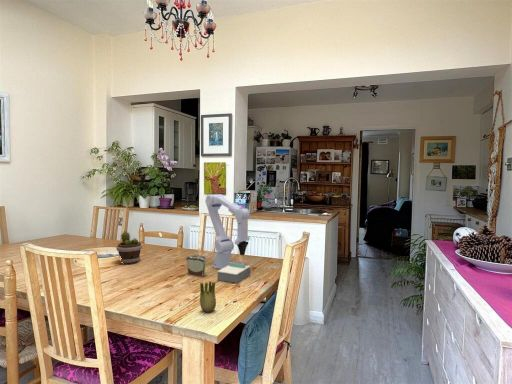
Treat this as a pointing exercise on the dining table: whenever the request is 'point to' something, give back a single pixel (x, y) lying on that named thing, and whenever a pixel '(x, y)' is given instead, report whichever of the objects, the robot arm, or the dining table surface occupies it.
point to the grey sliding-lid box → (233, 276)
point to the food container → (196, 265)
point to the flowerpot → (129, 249)
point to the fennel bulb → (207, 297)
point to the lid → (234, 268)
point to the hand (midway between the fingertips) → (242, 254)
